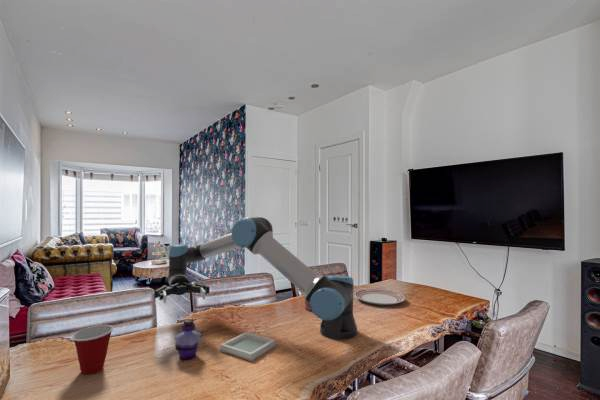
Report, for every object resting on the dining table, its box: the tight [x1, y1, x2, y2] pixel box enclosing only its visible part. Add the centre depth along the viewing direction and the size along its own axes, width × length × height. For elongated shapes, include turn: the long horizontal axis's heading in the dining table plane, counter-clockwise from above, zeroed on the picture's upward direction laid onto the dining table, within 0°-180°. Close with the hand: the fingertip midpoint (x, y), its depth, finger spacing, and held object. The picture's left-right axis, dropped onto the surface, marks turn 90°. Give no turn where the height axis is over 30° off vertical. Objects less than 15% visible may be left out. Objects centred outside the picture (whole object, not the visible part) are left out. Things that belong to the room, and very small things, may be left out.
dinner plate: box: [354, 288, 406, 306], centre depth 179 cm, size 27×27×3 cm
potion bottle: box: [174, 319, 202, 361], centre depth 108 cm, size 9×9×12 cm
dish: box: [219, 331, 277, 362], centre depth 115 cm, size 14×14×2 cm
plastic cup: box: [70, 324, 114, 376], centre depth 98 cm, size 11×11×12 cm
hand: (185, 297), depth 117 cm, fingers open, 13 cm apart
